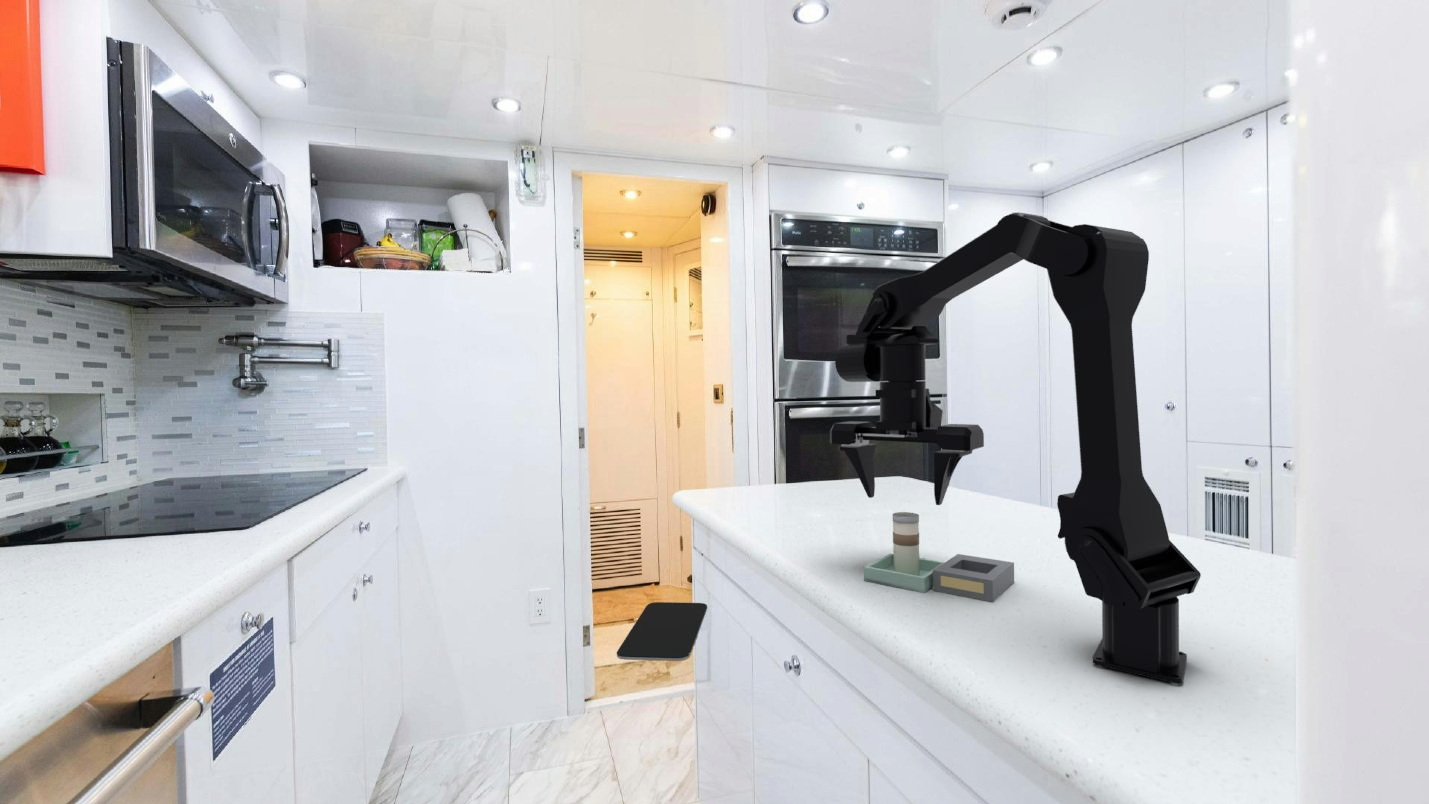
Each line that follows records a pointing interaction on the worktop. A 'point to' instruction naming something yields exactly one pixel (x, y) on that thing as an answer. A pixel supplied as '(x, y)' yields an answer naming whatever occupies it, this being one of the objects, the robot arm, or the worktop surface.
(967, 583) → the fuse holder
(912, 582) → the parts tray
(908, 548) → the fuse
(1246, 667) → the worktop surface
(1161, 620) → the robot arm
